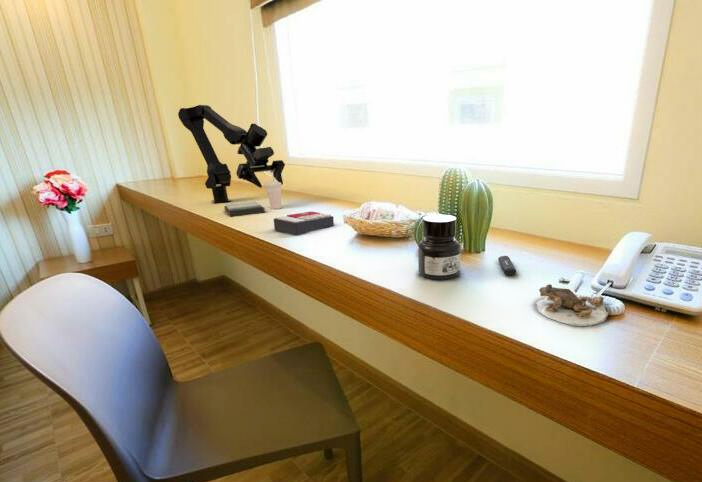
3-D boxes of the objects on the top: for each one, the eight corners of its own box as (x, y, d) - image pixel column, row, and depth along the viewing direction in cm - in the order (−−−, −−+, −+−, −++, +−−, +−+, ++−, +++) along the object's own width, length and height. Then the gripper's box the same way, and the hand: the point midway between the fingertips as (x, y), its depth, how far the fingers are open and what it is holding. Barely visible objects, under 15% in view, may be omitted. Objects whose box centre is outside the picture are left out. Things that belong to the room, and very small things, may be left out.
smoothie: (275, 210, 151) (269, 173, 146) (264, 208, 154) (258, 172, 149) (288, 207, 156) (283, 171, 151) (277, 206, 159) (272, 170, 154)
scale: (225, 211, 151) (223, 204, 150) (257, 207, 157) (256, 201, 156) (230, 216, 142) (228, 209, 141) (264, 212, 148) (263, 205, 147)
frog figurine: (532, 320, 63) (534, 298, 62) (537, 292, 74) (540, 273, 72) (610, 331, 60) (615, 308, 58) (604, 300, 70) (608, 280, 69)
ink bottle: (427, 284, 79) (427, 225, 74) (410, 270, 86) (409, 216, 82) (469, 276, 82) (471, 220, 78) (449, 263, 90) (450, 211, 85)
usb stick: (497, 261, 91) (498, 255, 90) (509, 261, 91) (509, 255, 90) (504, 276, 82) (504, 269, 81) (516, 276, 82) (517, 269, 81)
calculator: (333, 214, 125) (294, 220, 114) (334, 227, 126) (296, 235, 115) (311, 210, 131) (272, 216, 120) (312, 223, 133) (274, 230, 121)
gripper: (234, 141, 143) (255, 173, 141) (279, 139, 156) (299, 168, 154) (227, 162, 151) (247, 194, 148) (271, 158, 164) (290, 187, 161)
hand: (272, 185), depth 153 cm, fingers open, 9 cm apart
